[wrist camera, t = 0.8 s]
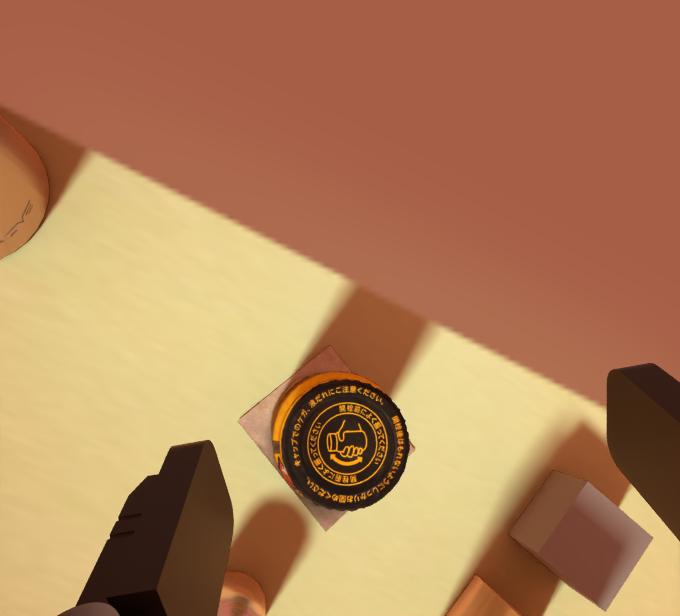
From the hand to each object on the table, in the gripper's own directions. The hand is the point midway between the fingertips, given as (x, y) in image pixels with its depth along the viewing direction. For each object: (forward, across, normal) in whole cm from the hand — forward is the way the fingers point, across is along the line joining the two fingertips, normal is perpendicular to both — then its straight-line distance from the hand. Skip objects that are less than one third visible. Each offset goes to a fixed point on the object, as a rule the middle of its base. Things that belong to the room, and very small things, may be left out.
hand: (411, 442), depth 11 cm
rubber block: (+17, -10, +21) cm, 29 cm away
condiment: (+19, +4, +12) cm, 23 cm away
